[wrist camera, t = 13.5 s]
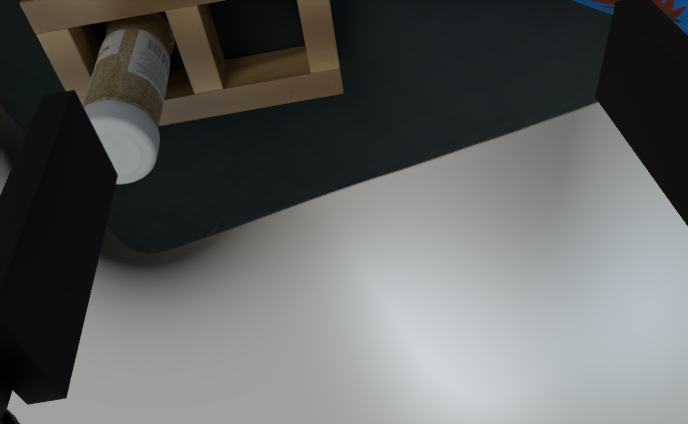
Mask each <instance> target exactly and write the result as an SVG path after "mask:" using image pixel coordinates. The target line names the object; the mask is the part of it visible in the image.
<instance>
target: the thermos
mask: <svg viewBox="0 0 688 424" xmlns="http://www.w3.org/2000/svg"><path fill="white" fill-rule="evenodd" d="M573 1H576V2H578V3H581V4H584V5H586V6H589V7H592V8H595V9H597V10H600V11H603V12H606V13H608V14H611V15H613V11H614V7H615V2H616V1H622V0H573ZM652 1H653V2H654V3H655V4H656V5H657V6H658V7H659V8H660V9H661V10H662V11H663V12H664V13H665V14H666V15H667V16H668V17H669V18H670V19H671V20H672V21H673V22H675V23H676V24H677V25H678V26H679V27H680V28H681V29H682V30H683V31H684V32H685V33H686V34H687V35H688V0H652Z"/></svg>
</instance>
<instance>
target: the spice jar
mask: <svg viewBox="0 0 688 424" xmlns="http://www.w3.org/2000/svg"><path fill="white" fill-rule="evenodd" d="M174 43H175V38H174V35H173V32H172V29H171V27H170V24H169V23H168V21H167V20H166V19H165V18H164V17H163V16H162V15H161V14H160V13H158V12H157V13H151V14H145V15H140V16H134V17H129V18H123V19H117V20H112V21H108V24H107V27H106V36H105V39H104V42H103V43H102V46H101V48H100V52H99V55H98V58H97V61H96V65H95V68H94V71H93V74H92V77H91V80H90V83H89V87H88V93H87V95H86V98H85V101H84V105H83V107H84V109H85V111H86V113H87V115H88V117H89V119H90V121H91V123H92V125H93V127H94V129H95V131H96V133H97V135H98V137H99V139H100V141H101V142H102V144H103V146H104V148H105V150H106V152H107V154H108V156H109V158H110V160H111V162H112V164H113V166H114V168H115V170H116V172H117V174H118V178H117V182H116V184H125V183H131V182H134V181H137V180H139V179H141V178H143V177H145V176H146V175H147V174H148V173H149V172H150V171H151V170H152V168H153V167H154V165H155V162H156V158H157V154H158V149H159V142H160V136H159V130H158V129H159V122H160V118H161V115H162V112H163V107H164V101H165V94H166V88H167V82H168V75H169V69H170V55H171V53H172V51H173V48H174Z"/></svg>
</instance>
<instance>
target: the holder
mask: <svg viewBox="0 0 688 424" xmlns="http://www.w3.org/2000/svg"><path fill="white" fill-rule="evenodd" d="M218 1H224V0H21V2H20V5H21V7H22V9H23V11H24V13H25V15H26V17H27V19H28V21H29V23H30V24H31V26H32V28H33V30H34V32H35V34H36V35H37V37H38V39H39V41H40V43H41V45H42V47H43V48H44V50H45V52H46V54H47V56H48V58H49V60H50V62H51V64H52V66H53V67H54V69H55V71H56V73H57V75H58V77H59V79H60V81H61V83H62V85H63V86H64V88H65V90H66V91H70V90H75V91H76V93H77V95H78V97H79V99H80V101H81V103H82V105H84V101H85V98H86V95H87V93H88V87H89V83H90V80H91V77H92V74H93V71H94V68H95V65H96V61H97V58H98V55H99V52H100V48H101V46H100V43H99V41H98V39H97V37H96V35H95V32H94V30H93V28H92V26H91V24H95V23H100V22H106V21H112V20H117V19H123V18H129V17H134V16H140V15H145V14H151V13H157V12H162V11H165V12H166V15H167V18H168V21H169V24H170V27H171V29H172V32H173V35H174V38H175V41H176V43H177V46H178V49H179V52H180V55H181V58H182V60H183V63H184V66H185V67H183V68H177V69H171V70H169V75H168V82H167V88H166V94H165V101H164V107H163V112H162V115H161V118H160V122H159V126H162V125H168V124H174V123H179V122H185V121H190V120H196V119H202V118H207V117H213V116H219V115H224V114H230V113H236V112H241V111H247V110H252V109H258V108H264V107H269V106H275V105H281V104H286V103H292V102H298V101H303V100H309V99H314V98H320V97H326V96H331V95H337V94H343V93H344V92H343V85H342V78H341V72H340V65H339V59H338V52H337V45H336V39H335V32H334V26H333V19H332V12H331V6H330V0H297V4H298V9H299V14H300V19H301V25H302V30H303V35H304V40H305V45H306V46H301V47H295V48H289V49H284V50H278V51H273V52H267V53H261V54H256V55H250V56H244V57H239V58H233V59H228V60H225V59H224V56H223V52H222V49H221V46H220V42H219V39H218V36H217V32H216V29H215V26H214V22H213V19H212V16H211V12H210V9H209V6H208V3H213V2H218Z"/></svg>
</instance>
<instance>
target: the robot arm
mask: <svg viewBox="0 0 688 424" xmlns="http://www.w3.org/2000/svg"><path fill="white" fill-rule="evenodd" d="M595 98H596V99H597V101H598V102H599V103H600V105H601V106H602V107H603V109H604V110H605V111H606V113H607V114H608V116H609V117H610V118H611V120H612V121H613V123H614V124H615V126H616V127H617V128H618V130H619V131H620V133H621V134H622V135H623V137H624V138H625V139H626V141H627V142H628V143H629V145H630V146H631V148H632V149H633V151H634V152H635V153H636V155H637V156H638V158H639V159H640V160H641V162H642V163H643V165H644V166H645V167H646V169H647V170H648V172H649V173H650V174H651V176H652V177H653V178H654V180H655V181H656V183H657V184H658V186H659V187H660V188H661V190H662V191H663V192H664V194H665V195H666V197H667V198H668V199H669V201H670V202H671V204H672V205H673V206H674V208H675V209H676V211H677V212H678V213H679V215H680V216H681V218H682V219H683V220H684V222H685V223H686V225H687V226H688V35H687V34H686V33H685V32H684V31H683V30H682V29H681V28H680V27H679V26H678V25H677V24H676V23H675V22H673V21H672V20H671V19H670V18H669V17H668V16H667V15H666V14H665V13H664V12H663V11H662V10H661V9H660V8H659V7H658V6H657V5H656V4H655V3H654V2H653V1H652V0H622V1H616V2H615V7H614V11H613V16H612V21H611V25H610V30H609V35H608V40H607V44H606V49H605V54H604V58H603V63H602V68H601V73H600V77H599V82H598V87H597V91H596V96H595ZM117 178H118V174H117V172H116V170H115V168H114V166H113V164H112V162H111V160H110V158H109V156H108V154H107V152H106V150H105V148H104V146H103V144H102V142H101V141H100V139H99V137H98V135H97V133H96V131H95V129H94V127H93V125H92V123H91V121H90V119H89V117H88V115H87V113H86V111H85V109H84V107H83V105H82V103H81V101H80V99H79V97H78V95H77V93H76V91H75V90H70V91H64V92H58V93H52V94H46V95H43V96H42V99H41V101H40V103H39V106H38V108H37V111H36V113H35V115H34V118H33V120H32V122H31V125H30V127H29V129H28V132H27V134H26V136H25V139H24V141H23V143H22V146H21V148H20V150H19V153H18V155H17V158H16V160H15V162H14V164H13V167H12V169H11V171H10V174H9V176H8V179H7V181H6V183H5V186H4V188H3V190H2V193H1V195H0V424H20V423H19V422H18V421H17V419H16V417H15V416H14V415H13V414H12V413H11V412H10V411H9V410H7V406H8V403H9V400H10V397H11V393H12V390H13V391H14V392H15V393H16V394H17V395H18V396H19V397H20V398H21V399H22V400H23V401H24V402H25V403H26V404H34V403H40V402H46V401H53V400H58V399H65V398H66V397H67V393H68V389H69V384H70V380H71V376H72V371H73V367H74V363H75V359H76V354H77V350H78V346H79V341H80V337H81V333H82V328H83V324H84V320H85V315H86V311H87V307H88V303H89V298H90V294H91V290H92V285H93V281H94V277H95V272H96V268H97V264H98V259H99V255H100V251H101V247H102V242H103V238H104V234H105V229H106V225H107V221H108V216H109V212H110V208H111V203H112V199H113V195H114V190H115V186H116V182H117Z"/></svg>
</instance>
